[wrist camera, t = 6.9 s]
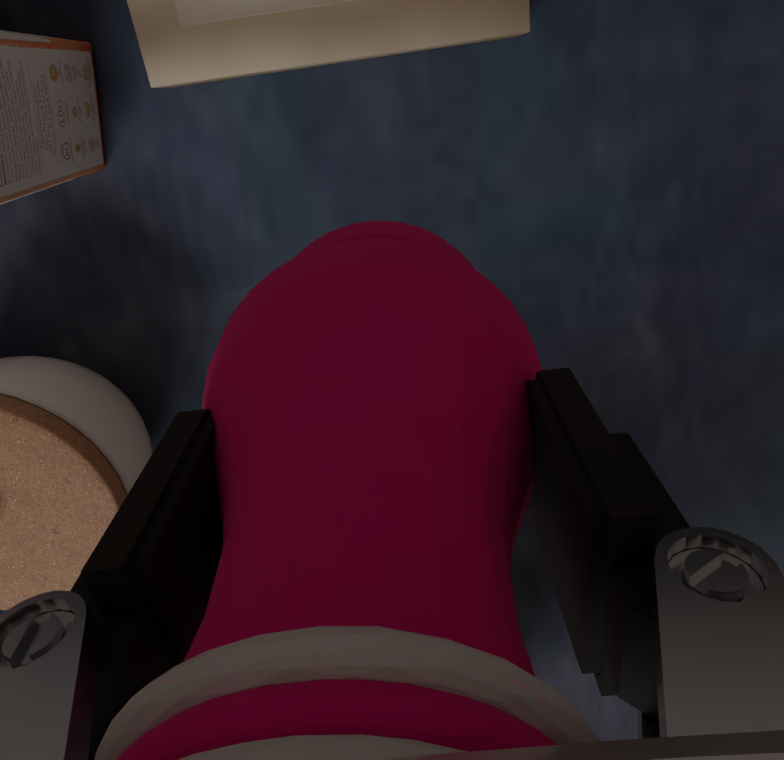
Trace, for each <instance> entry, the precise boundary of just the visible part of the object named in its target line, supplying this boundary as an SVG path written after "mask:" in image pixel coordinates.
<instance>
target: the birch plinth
mask: <svg viewBox="0 0 784 760" xmlns="http://www.w3.org/2000/svg"><path fill="white" fill-rule="evenodd" d="M127 3H128V7H129V10H130V14H131V17H132V21H133V25H134V28H135V32H136V35H137V39H138V42H139V46H140V49H141V53H142V57H143V60H144V64H145V67H146V71H147V74H148V78H149V82H150V85H151V88H159V87H178V86H185V85H192V84H198V83H205V82H212V81H219V80H226V79H232V78H239V77H246V76H253V75H260V74H266V73H273V72H280V71H287V70H294V69H300V68H307V67H314V66H321V65H328V64H334V63H341V62H348V61H355V60H362V59H368V58H375V57H382V56H389V55H396V54H402V53H409V52H416V51H423V50H430V49H436V48H443V47H450V46H457V45H464V44H470V43H477V42H484V41H491V40H498V39H504V38H511V37H517V36H520V35H522V34H525V33H528V32H530V12H529V0H127Z"/></svg>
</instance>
